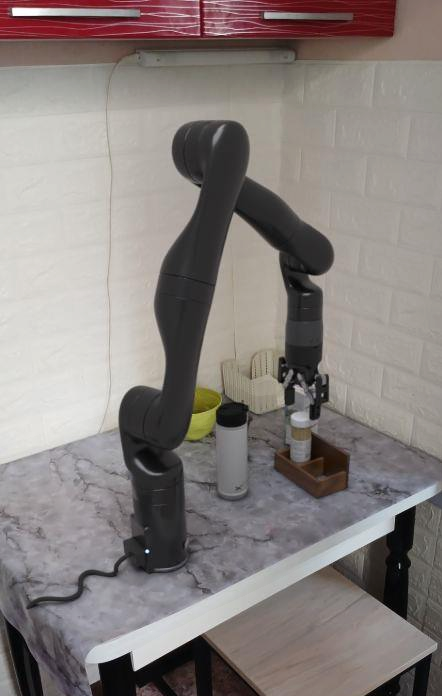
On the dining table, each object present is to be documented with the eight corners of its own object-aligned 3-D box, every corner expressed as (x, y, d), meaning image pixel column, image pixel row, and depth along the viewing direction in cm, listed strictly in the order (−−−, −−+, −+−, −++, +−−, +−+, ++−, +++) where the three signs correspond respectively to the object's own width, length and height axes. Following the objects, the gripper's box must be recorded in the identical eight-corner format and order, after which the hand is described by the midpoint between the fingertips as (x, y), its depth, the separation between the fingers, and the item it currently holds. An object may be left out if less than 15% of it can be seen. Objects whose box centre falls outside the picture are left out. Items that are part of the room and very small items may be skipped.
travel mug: (246, 502, 156) (245, 413, 145) (215, 499, 157) (212, 411, 147) (251, 486, 161) (251, 400, 151) (221, 484, 162) (218, 398, 152)
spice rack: (317, 499, 156) (318, 465, 152) (273, 468, 167) (274, 436, 163) (347, 487, 159) (350, 454, 155) (303, 458, 171) (304, 426, 167)
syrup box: (318, 442, 177) (320, 385, 170) (302, 451, 174) (304, 393, 166) (298, 435, 181) (300, 378, 173) (283, 444, 177) (284, 386, 170)
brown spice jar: (301, 463, 169) (302, 408, 162) (314, 471, 166) (317, 416, 159) (285, 470, 167) (286, 414, 160) (298, 478, 163) (300, 422, 157)
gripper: (267, 331, 154) (267, 404, 163) (311, 352, 144) (308, 429, 152) (297, 324, 158) (295, 396, 166) (341, 344, 147) (337, 419, 155)
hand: (301, 411), depth 159 cm, fingers open, 8 cm apart
